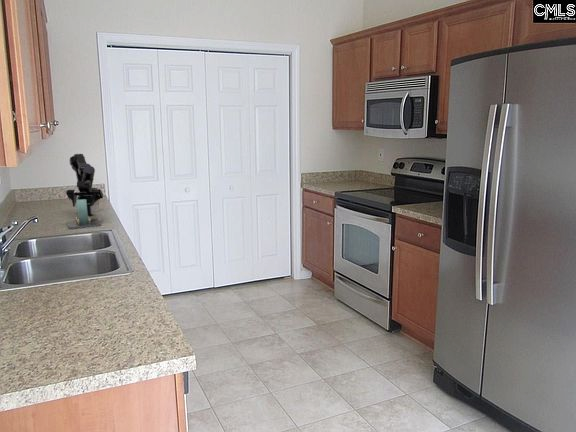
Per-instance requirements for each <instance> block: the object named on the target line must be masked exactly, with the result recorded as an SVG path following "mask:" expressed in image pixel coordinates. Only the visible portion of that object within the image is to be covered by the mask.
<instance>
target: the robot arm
mask: <svg viewBox="0 0 576 432" xmlns="http://www.w3.org/2000/svg"><path fill="white" fill-rule="evenodd" d="M69 166H71V169H72V170H73V171H74V172H75V176H76V180H77V181H76V187H77V189H78V191H75V189H67V190H66V192H65V194H66V196H67V198H68V199H69V200H71V201H72V206H73V207H76V205H77V201H76V200H80V199H86V202H87V203H89V204H87V213H88V216H89V217H91V216H93V212H91V206H92V205H94V203H95V202H96V201H97V200H99V201H100V200H101V199H103V198H104V193H103V191H102V189H101V188H97V189H94V190H93V192H91V190H92V188H93V183H94V178H95V177H94V176H95V172H96V170H95V167H94V166H92V165H91V164H90V163H87V160H86V157H85V156H84V154H83V153H75V154H74V155H72V156H70V157H69Z"/></svg>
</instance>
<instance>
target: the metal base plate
mask: <svg viewBox="0 0 576 432" xmlns="http://www.w3.org/2000/svg"><path fill="white" fill-rule="evenodd" d="M66 225H67V228H68V227H69V228H68V229H69V230H70V229H71V230H76V229H75V228H79V229H85V228H84V227H88V228H94V226H96V227H101V226H102V223H101V221H99V220H98V219H97V218H93V219H92V218H91V217H90V216H88V223H86V224H80V221H79V219H78V216H76V217H75V220H72V221H66Z"/></svg>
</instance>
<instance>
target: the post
mask: <svg viewBox="0 0 576 432" xmlns="http://www.w3.org/2000/svg"><path fill="white" fill-rule="evenodd" d="M76 208H77V209H76V210H77V217H78V219H79V221H80V224H86V223H88V213H87V202H86V199H80V200H76Z"/></svg>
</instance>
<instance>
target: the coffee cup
mask: <svg viewBox="0 0 576 432" xmlns="http://www.w3.org/2000/svg"><path fill="white" fill-rule="evenodd" d="M94 189H98V188H97V187H92V190H91V192H93V190H94ZM87 204H89V203H87ZM99 211H100V199H99V200H97V201H96V202H95V203H94V205H92V206H91V213H96V212H99Z"/></svg>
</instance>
